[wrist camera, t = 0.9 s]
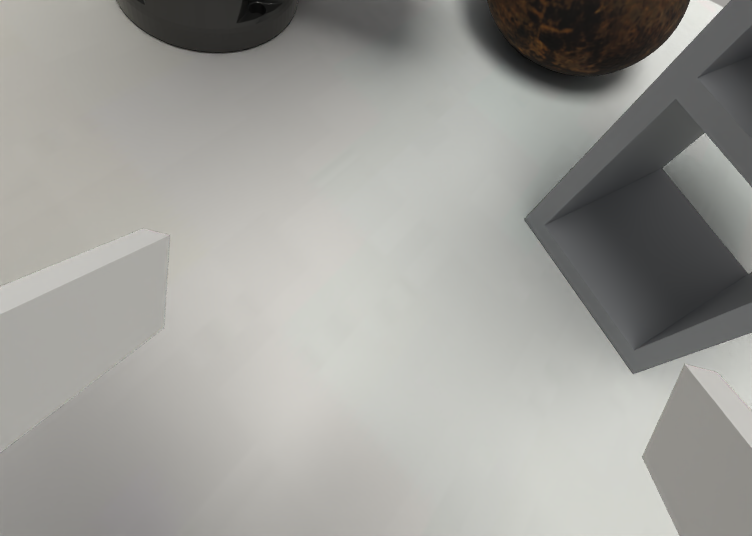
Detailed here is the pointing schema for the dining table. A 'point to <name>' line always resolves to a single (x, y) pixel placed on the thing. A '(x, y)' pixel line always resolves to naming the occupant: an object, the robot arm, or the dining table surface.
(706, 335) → the shelf
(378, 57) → the dining table surface
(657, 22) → the glass bottle
